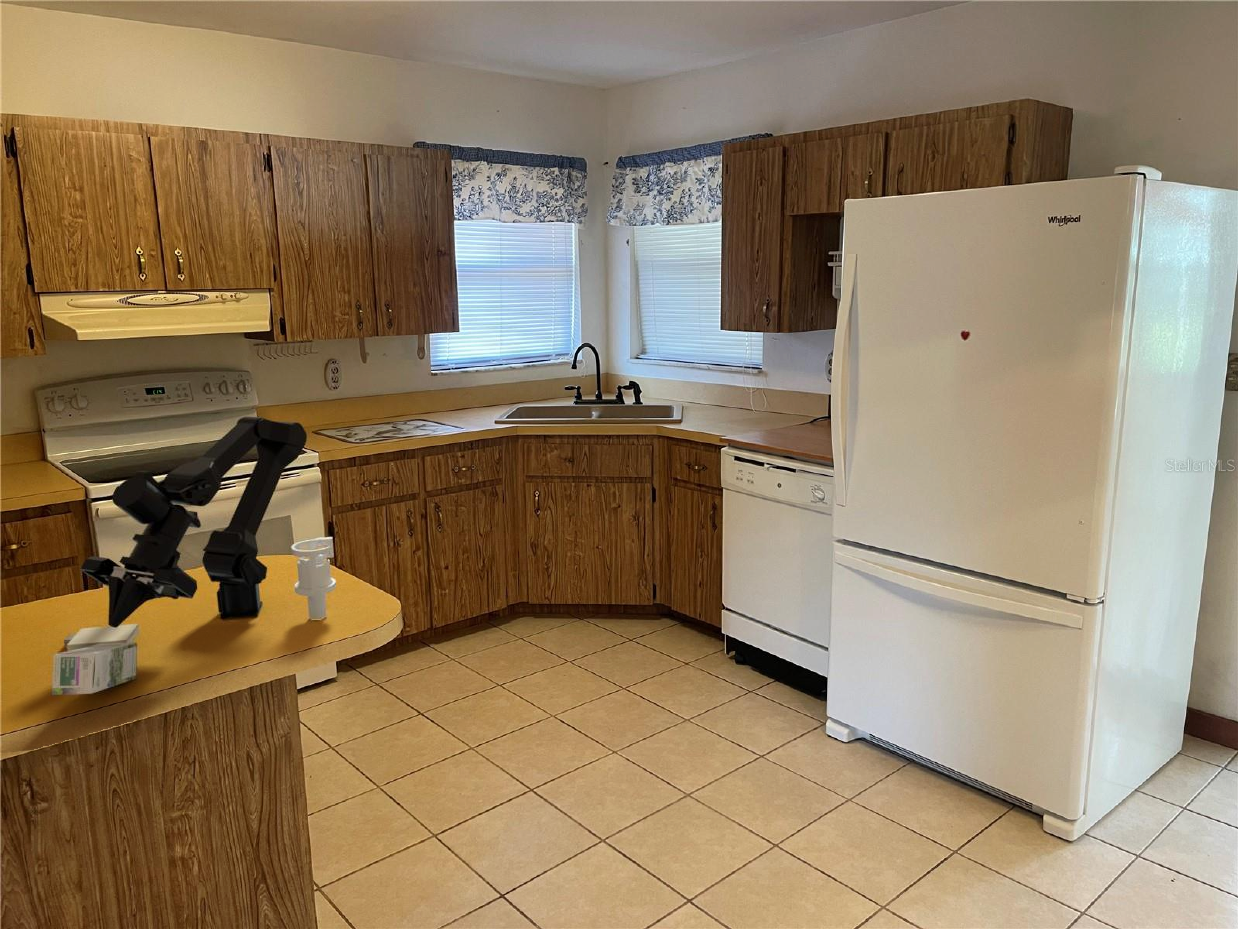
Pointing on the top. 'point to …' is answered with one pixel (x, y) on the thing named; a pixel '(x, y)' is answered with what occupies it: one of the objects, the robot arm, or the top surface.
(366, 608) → the top surface
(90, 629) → the cream flat tabbed slab
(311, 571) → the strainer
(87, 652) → the syrup box
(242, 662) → the top surface
